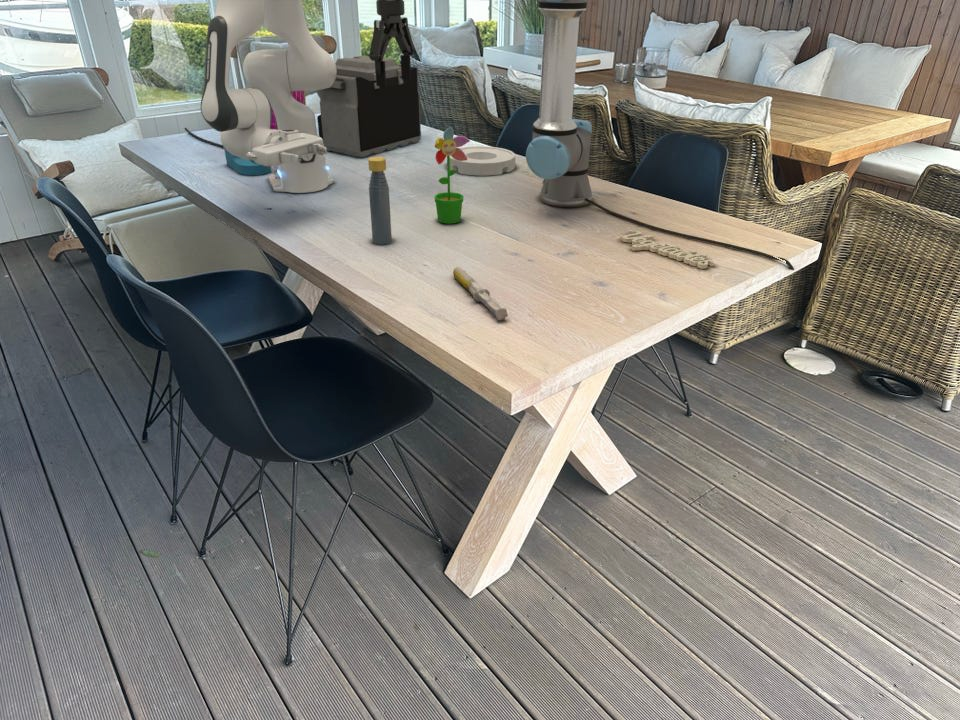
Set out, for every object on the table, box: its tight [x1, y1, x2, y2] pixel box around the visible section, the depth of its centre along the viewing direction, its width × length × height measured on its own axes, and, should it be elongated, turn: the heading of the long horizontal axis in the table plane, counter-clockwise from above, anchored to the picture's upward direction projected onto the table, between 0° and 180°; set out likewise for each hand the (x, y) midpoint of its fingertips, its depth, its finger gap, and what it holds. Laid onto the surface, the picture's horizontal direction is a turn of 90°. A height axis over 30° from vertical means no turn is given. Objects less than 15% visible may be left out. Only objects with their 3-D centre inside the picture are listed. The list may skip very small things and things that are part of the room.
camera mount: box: [223, 148, 271, 176], centre depth 226 cm, size 18×10×10 cm, turn 35°
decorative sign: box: [621, 229, 715, 270], centre depth 168 cm, size 26×1×10 cm
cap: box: [367, 156, 387, 172], centre depth 163 cm, size 4×4×2 cm
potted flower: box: [433, 126, 471, 225], centre depth 180 cm, size 9×8×25 cm
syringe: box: [452, 266, 509, 321], centre depth 145 cm, size 25×4×3 cm, turn 21°
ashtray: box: [450, 145, 516, 177], centre depth 233 cm, size 23×23×4 cm
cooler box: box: [315, 55, 422, 159], centre depth 250 cm, size 37×22×30 cm, turn 144°
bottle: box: [368, 170, 393, 246], centre depth 167 cm, size 5×5×20 cm
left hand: (312, 154), depth 173 cm, fingers open, 8 cm apart
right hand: (394, 83), depth 195 cm, fingers open, 13 cm apart
